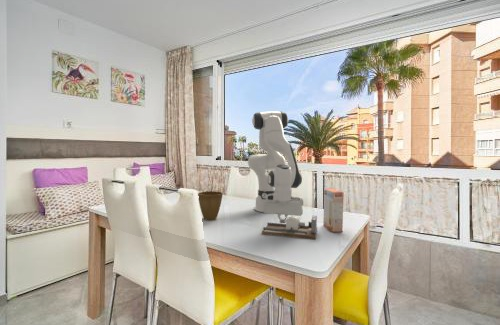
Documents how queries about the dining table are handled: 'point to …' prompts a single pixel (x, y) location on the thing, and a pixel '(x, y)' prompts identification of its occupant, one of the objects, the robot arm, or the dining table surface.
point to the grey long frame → (311, 225)
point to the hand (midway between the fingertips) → (282, 222)
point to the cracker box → (333, 210)
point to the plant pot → (210, 204)
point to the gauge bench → (289, 234)
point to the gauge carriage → (293, 223)
